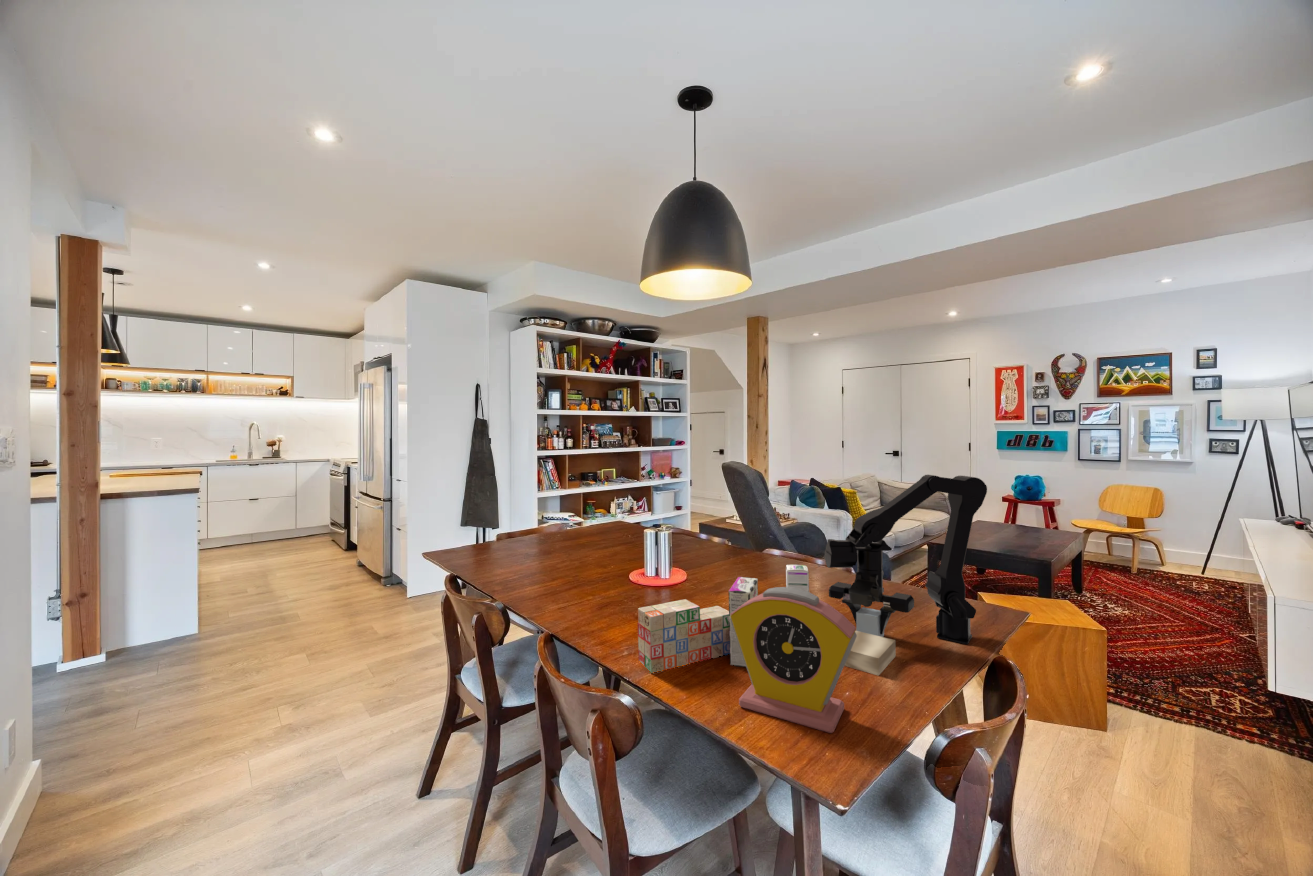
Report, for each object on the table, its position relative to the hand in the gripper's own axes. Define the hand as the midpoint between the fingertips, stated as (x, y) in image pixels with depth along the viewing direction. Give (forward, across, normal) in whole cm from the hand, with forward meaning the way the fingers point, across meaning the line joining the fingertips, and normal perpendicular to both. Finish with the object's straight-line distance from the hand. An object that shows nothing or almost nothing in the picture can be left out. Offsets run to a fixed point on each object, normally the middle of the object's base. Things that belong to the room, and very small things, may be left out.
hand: (870, 631), depth 124 cm
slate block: (+1, 0, 0) cm, 1 cm away
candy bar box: (+2, -18, -30) cm, 35 cm away
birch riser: (+2, +2, -14) cm, 14 cm away
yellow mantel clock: (+2, 0, -43) cm, 43 cm away
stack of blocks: (+2, -27, -38) cm, 47 cm away
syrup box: (+1, -18, -2) cm, 18 cm away
